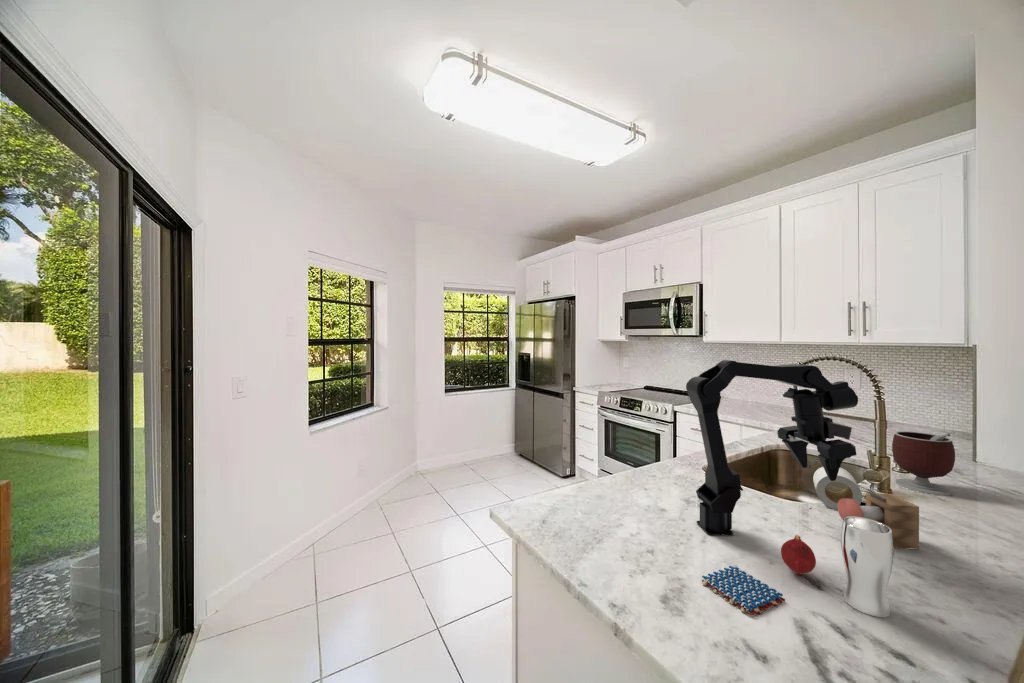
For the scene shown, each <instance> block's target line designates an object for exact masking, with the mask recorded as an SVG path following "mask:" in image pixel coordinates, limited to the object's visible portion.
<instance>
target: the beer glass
mask: <svg viewBox="0 0 1024 683" xmlns="http://www.w3.org/2000/svg"><path fill="white" fill-rule="evenodd" d="M840 542H841V543H840V546H841V553H842V558H843V563H844V564H843V565H844V567H845V573H846V585H845V586H846V587H845V590H844V594H843V597H844V601H845V602H846V603H847V604H849V606H851V607H852V608H853V609H855V610H857V611H859V612H861V613H863V614H866V615H868V616H872V617H876V618H887V617H889V616H890V614H891V611H890V610H891V609H890V606H889V600H888V596H887V595H888V594H887V593H888V587H889V586H888V585H889V581H890V578H891V574H892V570H893V565H894V554H895V553H894V548H893V540H892V530H891V529H890V528H889V527H888V526H886V525H884V524H882V523H880V522H877V521H874V520H871V519H867V518H863V517H856V516H846V517H844V518H843V520H842V526H841V538H840Z"/></svg>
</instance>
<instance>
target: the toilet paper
mask: <svg viewBox="0 0 1024 683" xmlns="http://www.w3.org/2000/svg"><path fill="white" fill-rule="evenodd" d="M812 480H813V485H814V488H815V492H816V495H817V497H818V499H819V500H820V501H821V502H822V503H823V504H824V505H826V507H829V508H830V509H833V510H835V511H838V501H839V500H840V499H842V498H847V499H853V500H855V501H856V502H857V503H858V504H859V506H861V503H862V501H863V493H862V491H861V488H860V487H859V485H858V483H857V481H856V480H855V478H854V477H853V475H852V474H851V473H850V471H847V469H845V468H842V467H840V468H839V471H838V475H837V478H836V480H835V481H830V479H829V478H828V476H827V474H826V472H825V470H824V467H823V466H821V467H819V468H817V469H816V471H815V472H814V474H813V479H812ZM831 483H832V484H833V483H840V484H843V485H846V488H844V490H841V491H832V490H829V489H827V488H826V487H827V485H829V484H831Z"/></svg>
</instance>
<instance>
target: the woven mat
mask: <svg viewBox="0 0 1024 683" xmlns="http://www.w3.org/2000/svg"><path fill="white" fill-rule="evenodd" d="M728 567H729V568H728ZM728 567H724V568H723V570H722V569H718V571H713V572H712V573H707V575H701V576H702V578H703V579H701V582H702V585H703V586H704V587H709V589H708V590H710V591H712V592H713V593H714V594H718V593H719V597H721V598H723V601H725V602H728V603H729V604H731V605H732V606H733V605H734V606H735V607H736V609H740V612H741V613H748V614H747V616H748V617H749V618H752V617H754V616H757V615H762V613H763V612H766V611H767V610H770V609H772V608H773V607H778V605H780V604H783V603H784V602H785V601H786V599H785V598H784V597H783V595H784V594H783V593H781V592H780V591H778V590H776V589H775V588H773V586H772V587H771V586H769V584H767V583H764V582H763V581H762V580H760V579H757V578H755V577H754V576H753V575H751V574H749V573H747V572H746V571H744V570H742V569H740V568H739V567H738V566H737V567H736V566H733V565H729V566H728Z"/></svg>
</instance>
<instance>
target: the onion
mask: <svg viewBox="0 0 1024 683" xmlns="http://www.w3.org/2000/svg"><path fill="white" fill-rule="evenodd" d="M780 555H781V559H782V560H783V562H784V564H785V565H786V567H787V568H788V569H789V570H791V571H792V572H793V573H795V575H799V576H800V575H804V574H808V573H811V572H812V571H813V570H814V569H815V567H816V565H817V559H816V555H815V553H814V551H813V549H812V548H811V547H810V546H809V545H808V544H807V543H806V542H805V541H803V539H802V538H801V536H800V535H798V534H796V535H794V537H793V538H792V539H789V540H787V541H785V542H784V543H783V544H782V545H781V547H780Z"/></svg>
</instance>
